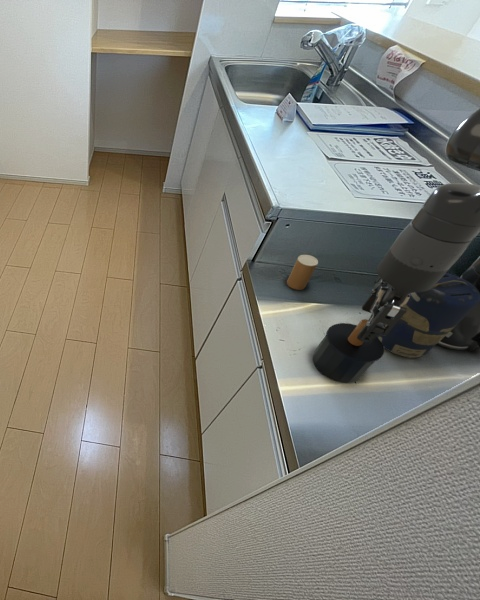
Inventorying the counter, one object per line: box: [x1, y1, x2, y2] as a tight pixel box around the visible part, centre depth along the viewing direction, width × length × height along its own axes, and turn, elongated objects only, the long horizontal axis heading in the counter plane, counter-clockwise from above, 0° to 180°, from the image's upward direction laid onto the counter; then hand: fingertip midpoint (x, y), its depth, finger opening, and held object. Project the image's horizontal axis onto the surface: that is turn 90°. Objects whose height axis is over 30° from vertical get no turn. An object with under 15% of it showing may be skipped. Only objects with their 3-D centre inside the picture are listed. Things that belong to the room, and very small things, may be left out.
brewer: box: [312, 335, 376, 384], centre depth 70 cm, size 9×9×8 cm
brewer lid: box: [325, 318, 385, 363], centre depth 65 cm, size 9×9×6 cm
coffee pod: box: [286, 254, 319, 291], centre depth 88 cm, size 4×4×8 cm
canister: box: [377, 272, 480, 358], centre depth 69 cm, size 10×10×18 cm
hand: (365, 324), depth 64 cm, fingers open, 8 cm apart
